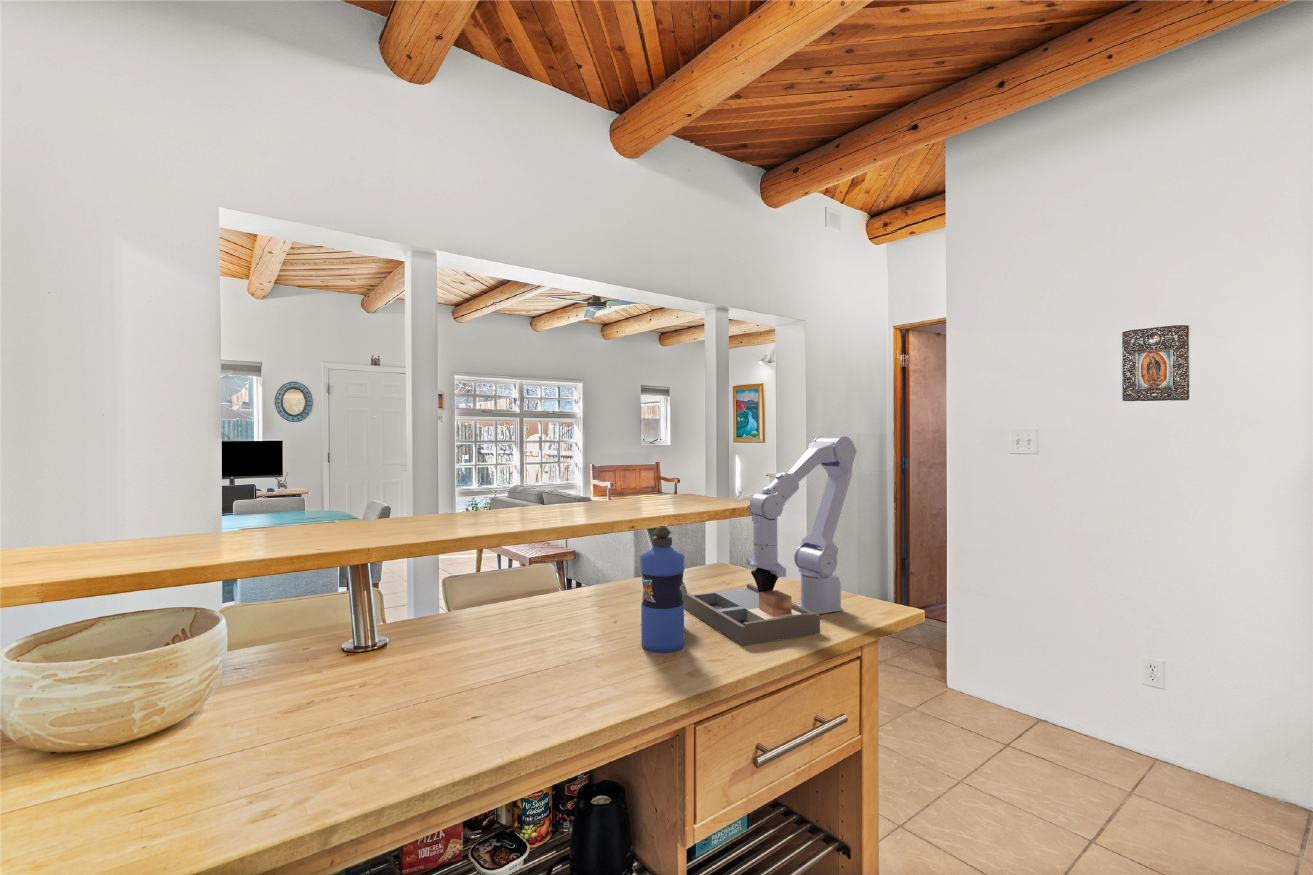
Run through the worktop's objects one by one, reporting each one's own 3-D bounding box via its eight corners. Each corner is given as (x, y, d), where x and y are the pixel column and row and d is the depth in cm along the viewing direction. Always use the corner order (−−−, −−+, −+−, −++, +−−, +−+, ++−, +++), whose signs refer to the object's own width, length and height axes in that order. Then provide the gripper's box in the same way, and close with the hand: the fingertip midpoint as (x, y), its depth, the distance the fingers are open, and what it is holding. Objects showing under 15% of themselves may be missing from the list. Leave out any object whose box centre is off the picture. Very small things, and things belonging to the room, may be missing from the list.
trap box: (750, 598, 162) (749, 581, 162) (820, 633, 134) (820, 613, 134) (682, 607, 155) (682, 589, 154) (741, 645, 127) (741, 624, 127)
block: (777, 606, 144) (777, 590, 144) (791, 613, 139) (791, 596, 139) (758, 609, 142) (758, 592, 142) (772, 616, 137) (772, 598, 137)
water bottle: (650, 655, 122) (649, 532, 121) (634, 640, 130) (633, 525, 130) (692, 649, 125) (691, 528, 125) (674, 635, 134) (673, 522, 133)
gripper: (735, 540, 150) (735, 594, 150) (767, 550, 136) (767, 610, 136) (760, 538, 152) (760, 591, 153) (793, 548, 139) (793, 607, 139)
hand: (765, 600), depth 145 cm, fingers closed
